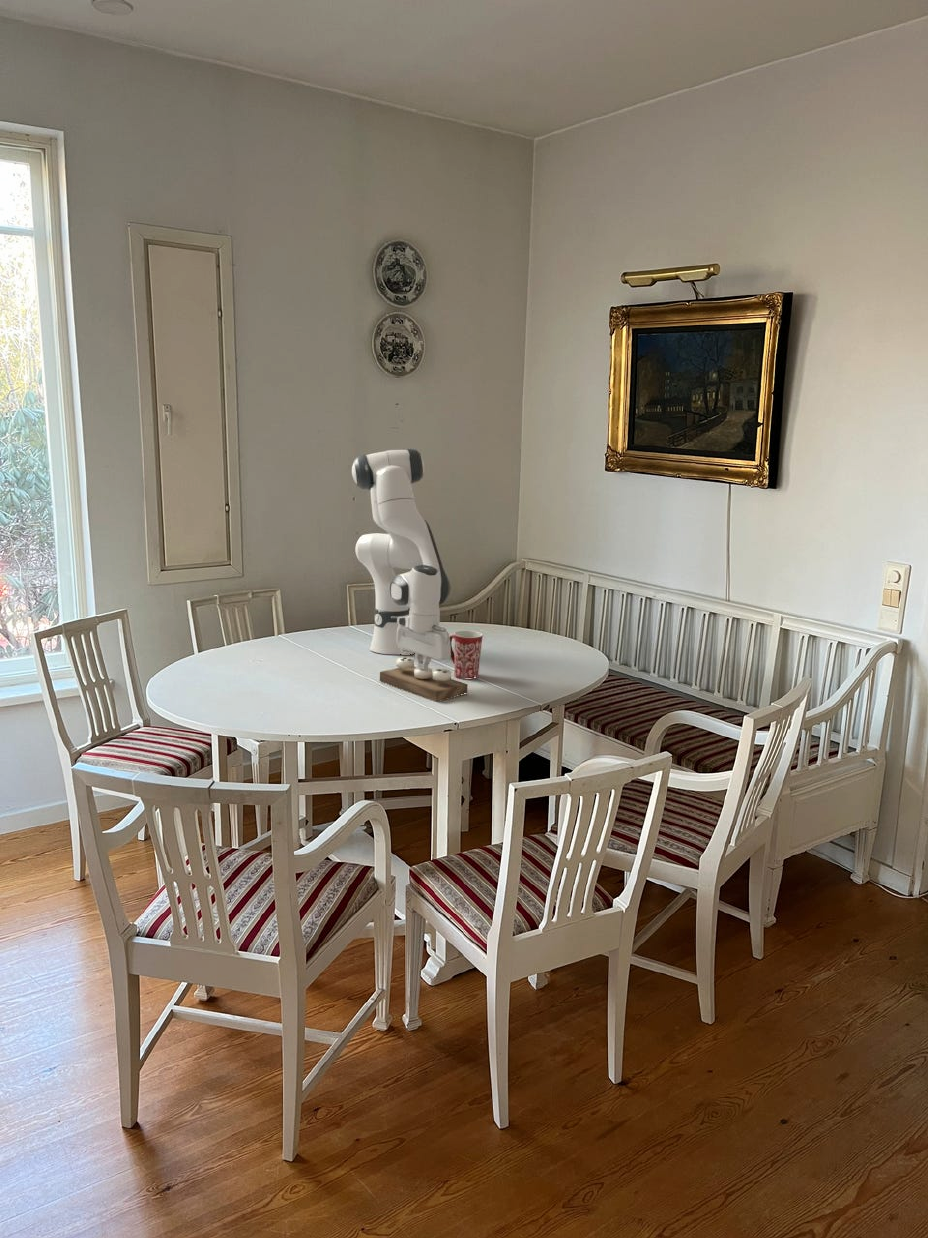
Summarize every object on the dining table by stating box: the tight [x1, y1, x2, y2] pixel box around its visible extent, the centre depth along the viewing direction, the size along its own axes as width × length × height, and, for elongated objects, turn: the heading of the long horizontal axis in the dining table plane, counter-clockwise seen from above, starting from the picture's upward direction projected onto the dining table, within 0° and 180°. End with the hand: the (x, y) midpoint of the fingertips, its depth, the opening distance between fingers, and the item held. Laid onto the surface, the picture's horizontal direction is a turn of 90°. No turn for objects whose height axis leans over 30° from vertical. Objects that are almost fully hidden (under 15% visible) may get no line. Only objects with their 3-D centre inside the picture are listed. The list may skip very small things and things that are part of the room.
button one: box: [414, 667, 433, 679], centre depth 274 cm, size 5×5×2 cm
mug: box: [449, 629, 484, 679], centre depth 289 cm, size 13×9×14 cm
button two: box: [432, 668, 452, 681], centre depth 268 cm, size 5×5×2 cm
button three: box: [396, 656, 415, 668], centre depth 280 cm, size 5×5×2 cm
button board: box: [379, 666, 469, 703], centre depth 275 cm, size 12×25×3 cm, turn 44°
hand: (422, 668), depth 274 cm, fingers closed
